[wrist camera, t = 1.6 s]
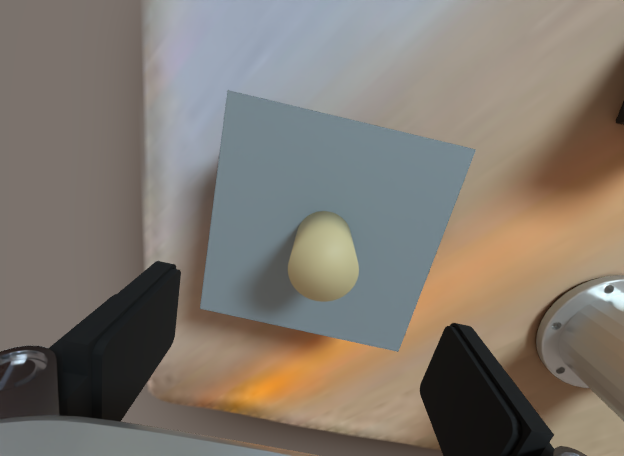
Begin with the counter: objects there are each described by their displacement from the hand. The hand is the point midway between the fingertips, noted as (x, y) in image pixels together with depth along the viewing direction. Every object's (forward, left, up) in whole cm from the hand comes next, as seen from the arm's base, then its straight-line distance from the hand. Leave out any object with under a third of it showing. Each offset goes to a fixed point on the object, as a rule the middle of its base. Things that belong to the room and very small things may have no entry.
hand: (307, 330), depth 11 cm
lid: (-1, 0, -11) cm, 11 cm away
